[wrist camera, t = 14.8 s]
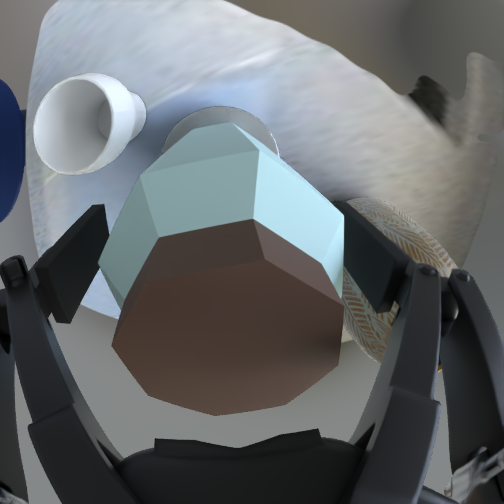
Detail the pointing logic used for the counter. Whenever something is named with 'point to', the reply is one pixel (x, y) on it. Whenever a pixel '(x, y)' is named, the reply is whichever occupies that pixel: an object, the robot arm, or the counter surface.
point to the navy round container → (217, 117)
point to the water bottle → (226, 276)
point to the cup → (86, 123)
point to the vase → (378, 325)
